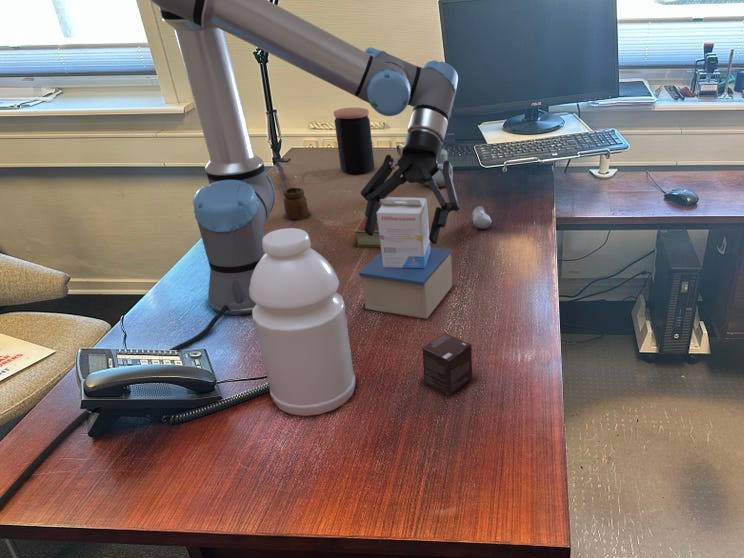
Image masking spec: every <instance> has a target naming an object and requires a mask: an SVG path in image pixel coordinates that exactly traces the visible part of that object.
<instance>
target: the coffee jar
mask: <svg viewBox="0 0 744 558" xmlns="http://www.w3.org/2000/svg"><path fill="white" fill-rule="evenodd" d="M369 114H370V113H369V110H368V109H367V108H365V107H364V108H363V107H343V108H339V109H336V110H334V111H333V116H334V128H335V135H336V143H337V150H338V157H339V158H338V159H339V164H340V166H339V167H340V170H341V171H342V172H343V173H344V174H346V175H352V176H353V175H357V176H358V175H364V174H368V173H370V172H372V171H373V169H374V168H375V162H374V159H375V158H374V150H373V141H372V139H373V138H372V131H371V120H370V118H369Z"/></svg>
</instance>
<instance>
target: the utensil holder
mask: <svg viewBox="0 0 744 558" xmlns="http://www.w3.org/2000/svg"><path fill="white" fill-rule="evenodd" d="M276 174H277V175H276V176H277V177H278V179H279V182H280V184H281V186H282V188H283V197H284V198H283V205H284V211H285V215H286V217H287V219H289V220H302V219H305V218H306V217H308V216H309V208H308V201H307V198H306V196H305V191H304V189H303V187H296V184H294V187H289V188H286V187H285V185H284V183H283V181H282V179H281V177H280V175H279V172H276ZM297 177H298V174H296V175H295V176H294V180H296V178H297ZM300 177H301V178H300ZM300 180H301V181H300ZM300 182H301V183H303V177H302V175H301V174H299V177H298V184H300Z"/></svg>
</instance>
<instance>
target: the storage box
mask: <svg viewBox="0 0 744 558" xmlns="http://www.w3.org/2000/svg"><path fill="white" fill-rule="evenodd" d="M452 269H453V267H452V253H451V254H450V255H449V256H448V257H447V258H446V259H445V261H444V262H443V263H442V264H441V265H440V267H439V268H438V269H437V270H436V271H435V272H434V274H433V275H432V276H431V277H430V278H429V279H428V281H427V282H426V283H425V284H424V285H423V286H422V285H415V284H409V283H402V282H395V281H388V280H382V279H375V278H368V277H361V285H362V292H363V293H362V294H363V299H364V307H365V310H369V311H370V310H371V311H375V312H383V313H389V314H395V315H400V316H408V317H414V318H420V319H426V320H427V319H428V318H429V317H430V316H431V314H433V312H434V311H435V309H436V308H437V306H438V305H439V304H440V303H441V301H442V300H443V299H444V298H445V296H446V295H447V294H448V292H449V291H450V290H451V289H452V288H453V270H452Z"/></svg>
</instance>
